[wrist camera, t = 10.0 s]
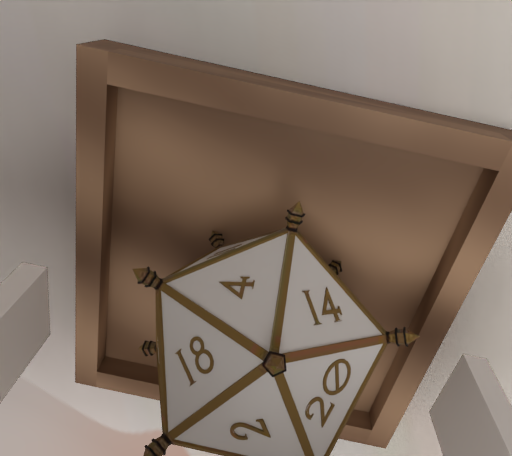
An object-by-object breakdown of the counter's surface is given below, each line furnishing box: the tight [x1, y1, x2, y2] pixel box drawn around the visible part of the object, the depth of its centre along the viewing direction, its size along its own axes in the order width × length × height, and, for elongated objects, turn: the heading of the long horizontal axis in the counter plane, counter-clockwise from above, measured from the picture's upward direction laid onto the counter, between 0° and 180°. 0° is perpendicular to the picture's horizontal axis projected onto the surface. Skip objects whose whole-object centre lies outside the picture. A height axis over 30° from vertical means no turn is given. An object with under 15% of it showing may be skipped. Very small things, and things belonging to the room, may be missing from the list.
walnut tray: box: [75, 39, 512, 448], centre depth 18 cm, size 15×15×2 cm
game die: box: [132, 201, 420, 456], centre depth 14 cm, size 9×8×10 cm
